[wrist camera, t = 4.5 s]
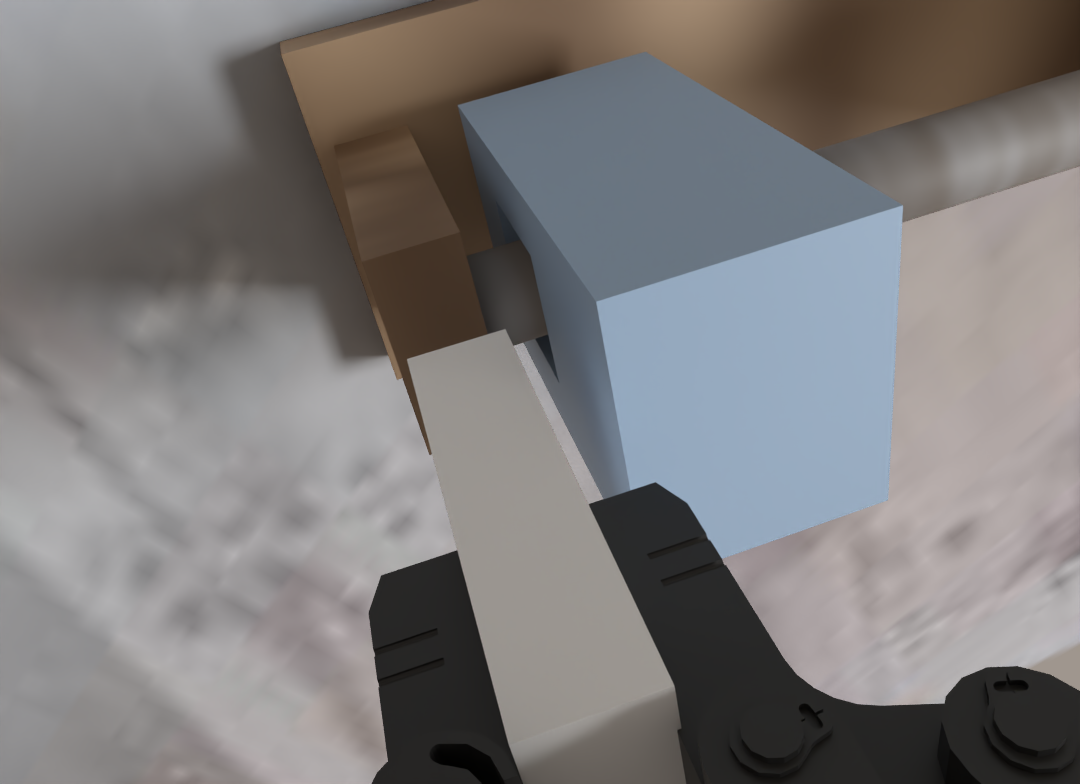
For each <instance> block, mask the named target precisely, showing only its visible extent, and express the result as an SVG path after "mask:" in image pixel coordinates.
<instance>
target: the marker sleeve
mask: <svg viewBox="0 0 1080 784" xmlns="http://www.w3.org/2000/svg"><path fill="white" fill-rule="evenodd" d="M458 109H459V113H460V117H461V121H462V125H463V129H464V133H465V137H466V141H467V145H468V149H469V153H470V157H471V161H472V165H473V169H474V173H475V177H476V181H477V185H478V189H479V193H480V197H481V201H482V205H483V209H484V213H485V217H486V221H487V225H488V229H489V233H490V237H491V241H492V245H493V248H494V247H497V246H501V245H504V244H507V243H511V242H514V241H517V240H521V241H522V243H523V244H524V246H525V248H526V249H527V251H528V252H529V254H530V255H531V260H532V264H533V269H534V273H535V278H536V282H537V287H538V291H539V295H540V300H541V304H542V309H543V313H544V318H545V322H546V327H547V331H548V335H545V336H542V337H539V338H536V339H533V340H530V341H526V342H524V344H525V346H526V348H527V350H528V352H529V354H530V356H531V358H532V360H533V362H534V364H535V366H536V368H537V370H538V372H539V374H540V375H541V377H542V379H543V381H544V383H545V385H546V387H547V389H548V391H549V393H550V395H551V397H552V399H553V401H554V403H555V405H556V407H557V409H558V411H559V413H560V415H561V417H562V418H563V420H564V422H565V424H566V426H567V428H568V430H569V432H570V434H571V436H572V438H573V440H574V442H575V444H576V446H577V448H578V450H579V452H580V454H581V456H582V458H583V460H584V461H585V463H586V465H587V467H588V469H589V471H590V473H591V475H592V477H593V479H594V481H595V483H596V485H597V487H598V489H599V491H600V493H601V495H602V497H603V499H606V498H609V497H612V496H615V495H618V494H621V493H624V492H627V491H630V490H633V489H636V488H639V487H642V486H645V485H648V484H651V483H654V482H656V483H658V484H659V485H661V486H662V487H664V488H665V489H667V490H668V491H670V492H671V493H673V494H674V495H676V496H677V497H679V498H680V499H682V500H683V501H685V502H686V503H688V505H689V506H690V508H691V510H692V511H693V513H694V514H695V516H696V518H697V519H698V521H699V523H700V524H701V526H702V527H703V529H704V531H705V532H706V534H707V538H708V540H711V542H712V543H713V545H714V547H715V548H716V550H717V552H718V553H719V555H720V556H721V558H722V559H723V558H726V557H728V556H731V555H734V554H737V553H740V552H742V551H745V550H748V549H751V548H754V547H757V546H759V545H762V544H765V543H768V542H771V541H774V540H776V539H779V538H782V537H785V536H788V535H791V534H793V533H796V532H799V531H802V530H805V529H808V528H810V527H813V526H816V525H819V524H822V523H825V522H827V521H830V520H833V519H836V518H839V517H842V516H844V515H847V514H850V513H853V512H856V511H859V510H861V509H864V508H867V507H870V506H873V505H876V504H878V503H881V502H884V501H887V500H888V490H889V471H890V451H891V431H892V412H893V392H894V373H895V353H896V333H897V314H898V294H899V274H900V255H901V235H902V215H903V205H902V204H900V203H898V202H897V201H895V200H893V199H892V198H890V197H888V196H887V195H885V194H883V193H882V192H880V191H878V190H877V189H875V188H873V187H872V186H870V185H868V184H867V183H865V182H863V181H861V180H860V179H858V178H856V177H855V176H853V175H851V174H850V173H848V172H846V171H845V170H843V169H841V168H840V167H838V166H836V165H835V164H833V163H831V162H830V161H828V160H826V159H825V158H823V157H821V156H820V155H818V154H816V153H815V152H813V151H811V150H809V149H808V148H806V147H804V146H803V145H801V144H799V143H798V142H796V141H794V140H793V139H791V138H789V137H788V136H786V135H784V134H783V133H781V132H779V131H778V130H776V129H774V128H773V127H771V126H769V125H768V124H766V123H764V122H763V121H761V120H759V119H758V118H756V117H754V116H752V115H751V114H749V113H747V112H746V111H744V110H742V109H741V108H739V107H737V106H736V105H734V104H732V103H731V102H729V101H727V100H726V99H724V98H722V97H721V96H719V95H717V94H716V93H714V92H712V91H711V90H709V89H707V88H706V87H704V86H702V85H700V84H699V83H697V82H695V81H694V80H692V79H690V78H689V77H687V76H685V75H684V74H682V73H680V72H679V71H677V70H675V69H674V68H672V67H670V66H669V65H667V64H665V63H664V62H662V61H660V60H659V59H657V58H655V57H654V56H652V55H650V54H648V53H647V52H643V53H639V54H636V55H632V56H629V57H625V58H622V59H618V60H615V61H611V62H608V63H604V64H601V65H597V66H594V67H590V68H587V69H583V70H580V71H576V72H572V73H569V74H565V75H562V76H558V77H555V78H551V79H548V80H544V81H541V82H537V83H534V84H530V85H527V86H523V87H520V88H516V89H513V90H509V91H506V92H502V93H499V94H495V95H492V96H488V97H485V98H481V99H478V100H474V101H470V102H467V103H463V104H460V105H458Z"/></svg>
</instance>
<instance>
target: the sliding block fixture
mask: <svg viewBox="0 0 1080 784" xmlns="http://www.w3.org/2000/svg"><path fill="white" fill-rule="evenodd" d="M280 50H281V56H282V59H283V62H284V64H285V67H286V70H287V73H288V76H289V78H290V81H291V84H292V87H293V90H294V92H295V95H296V98H297V101H298V104H299V106H300V109H301V112H302V115H303V118H304V120H305V123H306V126H307V129H308V132H309V134H310V137H311V140H312V143H313V146H314V148H315V151H316V154H317V157H318V160H319V162H320V165H321V168H322V171H323V174H324V176H325V179H326V182H327V185H328V188H329V190H330V193H331V196H332V199H333V202H334V204H335V207H336V210H337V213H338V216H339V218H340V221H341V224H342V227H343V230H344V232H345V235H346V238H347V241H348V244H349V246H350V249H351V252H352V255H353V258H354V260H355V263H356V266H357V269H358V272H359V274H360V277H361V280H362V283H363V286H364V288H365V291H366V294H367V297H368V300H369V302H370V305H371V308H372V311H373V314H374V316H375V319H376V322H377V325H378V328H379V330H380V333H381V336H382V339H383V342H384V344H385V347H386V350H387V353H388V356H389V358H390V361H391V364H392V367H393V370H394V372H395V375H396V378H397V380H398V379H401V378H403V381H404V384H405V386H406V389H407V392H408V395H409V398H410V401H411V403H412V406H413V409H414V412H415V415H416V418H417V420H418V423H419V426H420V429H421V432H422V435H423V438H424V440H425V443H426V446H427V449H428V452H429V455H431V454H432V452H431V449H430V445H429V441H428V437H427V433H426V430H425V426H424V422H423V418H422V414H421V411H420V407H419V403H418V399H417V396H416V392H415V388H414V384H413V380H412V377H411V373H410V369H409V365H408V361H407V359H409V358H412V357H415V356H419V355H422V354H425V353H428V352H432V351H435V350H438V349H442V348H445V347H448V346H451V345H455V344H458V343H461V342H464V341H468V340H471V339H474V338H477V337H481V336H484V335H487V334H491V333H494V332H497V331H500V330H504V329H506V331H507V334H508V336H509V338H510V340H511V342H512V344H513V346H514V345H517V344H520V343H523V342H526V341H530V340H533V339H536V338H539V337H542V336H545V335H548V331H547V327H546V322H545V318H544V313H543V309H542V304H541V300H540V295H539V291H538V287H537V282H536V278H535V273H534V269H533V264H532V260H531V255H530V254H529V252H528V251H527V249H526V248H525V246H524V244H523V243H522V241H521V240H517V241H514V242H511V243H507V244H504V245H501V246H497V247H494V248H493V245H492V241H491V237H490V233H489V229H488V225H487V221H486V217H485V213H484V209H483V205H482V201H481V197H480V193H479V189H478V185H477V181H476V177H475V173H474V169H473V165H472V161H471V157H470V153H469V149H468V145H467V141H466V137H465V133H464V129H463V125H462V121H461V117H460V113H459V109H458V105H460V104H463V103H467V102H470V101H474V100H478V99H481V98H485V97H488V96H492V95H495V94H499V93H502V92H506V91H509V90H513V89H516V88H520V87H523V86H527V85H530V84H534V83H537V82H541V81H544V80H548V79H551V78H555V77H558V76H562V75H565V74H569V73H572V72H576V71H580V70H583V69H587V68H590V67H594V66H597V65H601V64H604V63H608V62H611V61H615V60H618V59H622V58H625V57H629V56H632V55H636V54H639V53H643V52H647V53H648V54H650V55H652V56H654V57H655V58H657V59H659V60H660V61H662V62H664V63H665V64H667V65H669V66H670V67H672V68H674V69H675V70H677V71H679V72H680V73H682V74H684V75H685V76H687V77H689V78H690V79H692V80H694V81H695V82H697V83H699V84H700V85H702V86H704V87H706V88H707V89H709V90H711V91H712V92H714V93H716V94H717V95H719V96H721V97H722V98H724V99H726V100H727V101H729V102H731V103H732V104H734V105H736V106H737V107H739V108H741V109H742V110H744V111H746V112H747V113H749V114H751V115H752V116H754V117H756V118H758V119H759V120H761V121H763V122H764V123H766V124H768V125H769V126H771V127H773V128H774V129H776V130H778V131H779V132H781V133H783V134H784V135H786V136H788V137H789V138H791V139H793V140H794V141H796V142H798V143H799V144H801V145H803V146H804V147H806V148H808V149H809V150H811V151H813V152H815V153H816V154H818V155H820V156H821V157H823V158H825V159H826V160H828V161H830V162H831V163H833V164H835V165H836V166H838V167H840V168H841V169H843V170H845V171H846V172H848V173H850V174H851V175H853V176H855V177H856V178H858V179H860V180H861V181H863V182H865V183H867V184H868V185H870V186H872V187H873V188H875V189H877V190H878V191H880V192H882V193H883V194H885V195H887V196H888V197H890V198H892V199H893V200H895V201H897V202H898V203H900V204H902V205H903V215H902V222H905V221H908V220H912V219H915V218H918V217H921V216H924V215H927V214H930V213H934V212H937V211H940V210H943V209H946V208H949V207H953V206H956V205H959V204H962V203H965V202H968V201H971V200H975V199H978V198H981V197H984V196H987V195H990V194H994V193H997V192H1000V191H1003V190H1006V189H1009V188H1013V187H1016V186H1019V185H1022V184H1025V183H1028V182H1031V181H1035V180H1038V179H1041V178H1044V177H1047V176H1050V175H1054V174H1057V173H1060V172H1063V171H1066V170H1069V169H1072V168H1076V167H1079V166H1080V0H433V1H430V2H426V3H422V4H419V5H415V6H411V7H407V8H404V9H400V10H396V11H393V12H389V13H385V14H382V15H378V16H374V17H370V18H367V19H363V20H359V21H356V22H352V23H348V24H345V25H341V26H337V27H333V28H330V29H326V30H322V31H319V32H315V33H311V34H308V35H304V36H300V37H296V38H293V39H289V40H285V41H282V42H280Z"/></svg>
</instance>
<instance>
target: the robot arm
mask: <svg viewBox="0 0 1080 784" xmlns="http://www.w3.org/2000/svg"><path fill="white" fill-rule="evenodd" d="M407 361H408V365H409V369H410V373H411V377H412V380H413V384H414V388H415V392H416V396H417V399H418V403H419V407H420V411H421V414H422V418H423V422H424V426H425V430H426V433H427V437H428V441H429V445H430V449H431V452H432V456H433V460H434V464H435V467H436V471H437V475H438V479H439V483H440V486H441V490H442V494H443V498H444V501H445V505H446V509H447V513H448V517H449V520H450V524H451V528H452V532H453V536H454V539H455V543H456V547H457V551H454V552H451V553H448V554H445V555H442V556H439V557H436V558H433V559H430V560H427V561H424V562H421V563H418V564H415V565H412V566H409V567H406V568H403V569H400V570H397V571H394V572H391V573H388V574H384V575H381V578H380V581H379V584H378V587H377V590H376V592H375V595H374V598H373V601H372V604H371V607H370V610H369V619H370V627H371V635H372V642H373V650H374V652H375V657H374V658H375V665H376V673H377V680H378V683H379V696H380V703H381V711H382V719H383V726H384V734H385V742H386V749H387V757H388V762H387V763H386V764H385V765H384V766H383V767H382V768H381V769H380V770H379V771H378V772H377V774H376V776H375V778H374V780H373V782H372V784H1080V691H1079V690H1077V689H1075V688H1073V687H1072V686H1069V685H1068V684H1066V683H1064V682H1063V681H1061V680H1059V679H1057V678H1055V677H1054V676H1052V675H1050V674H1046V673H1041V672H1038V671H1034V670H1030V669H1026V668H1022V667H1018V666H1013V667H987V668H984V669H982V670H980V671H977V672H975V673H972V674H970V675H968V676H965V677H963V678H961V680H960V681H959V682H958V683H957V684H956V685H955V687H954V688H953V689H952V690H951V691H950V692H949V693H948V695H947V696H946V699H945V704H920V705H892V706H876V705H861V704H854V703H851V702H847V701H843V700H840V699H836V698H833V697H831V696H829V695H827V694H825V693H823V692H821V691H819V690H817V689H815V688H813V687H812V686H811V685H809V684H808V683H807V682H806V681H804V680H803V679H802V678H800V677H799V676H798V675H797V674H796V673H795V672H794V671H793V669H792V668H791V667H790V666H789V664H788V663H787V662H786V661H785V659H784V658H783V656H782V655H781V653H780V652H779V650H778V648H777V647H776V645H775V643H774V642H773V640H772V639H771V637H770V635H769V634H768V632H767V631H766V629H765V627H764V626H763V624H762V622H761V621H760V619H759V618H758V616H757V614H756V613H755V611H754V610H753V608H752V606H751V605H750V603H749V602H748V600H747V598H746V597H745V595H744V593H743V592H742V590H741V589H740V587H739V585H738V584H737V582H736V581H735V579H734V577H733V576H732V574H731V573H730V571H729V569H728V568H727V566H726V565H724V564H723V561H722V558H721V556H720V555H719V553H718V552H717V550H716V548H715V547H714V545H713V543H712V542H711V540H708V538H707V534H706V532H705V531H704V529H703V527H702V526H701V524H700V523H699V521H698V519H697V518H696V516H695V514H694V513H693V511H692V510H691V508H690V506H689V505H688V503H686V502H685V501H683V500H682V499H680V498H679V497H677V496H676V495H674V494H673V493H671V492H670V491H668V490H667V489H665V488H664V487H662V486H661V485H659V484H658V483H656V482H654V483H651V484H648V485H645V486H642V487H639V488H636V489H633V490H630V491H627V492H624V493H621V494H618V495H615V496H612V497H609V498H606V499H603V500H600V501H597V502H594V503H591V504H588V502H587V500H586V498H585V496H584V494H583V492H582V490H581V488H580V485H579V483H578V481H577V479H576V477H575V475H574V473H573V471H572V469H571V467H570V464H569V462H568V460H567V458H566V456H565V454H564V452H563V450H562V448H561V445H560V443H559V441H558V439H557V437H556V435H555V433H554V431H553V429H552V426H551V424H550V422H549V420H548V418H547V416H546V414H545V412H544V410H543V407H542V405H541V403H540V401H539V399H538V397H537V395H536V393H535V391H534V388H533V386H532V384H531V382H530V380H529V378H528V376H527V374H526V372H525V369H524V367H523V365H522V363H521V361H520V359H519V357H518V355H517V353H516V350H515V348H514V346H513V344H512V342H511V340H510V338H509V336H508V334H507V331H506V329H504V330H500V331H497V332H494V333H491V334H487V335H484V336H481V337H477V338H474V339H471V340H468V341H464V342H461V343H458V344H455V345H451V346H448V347H445V348H442V349H438V350H435V351H432V352H428V353H425V354H422V355H419V356H415V357H412V358H409V359H407Z"/></svg>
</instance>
